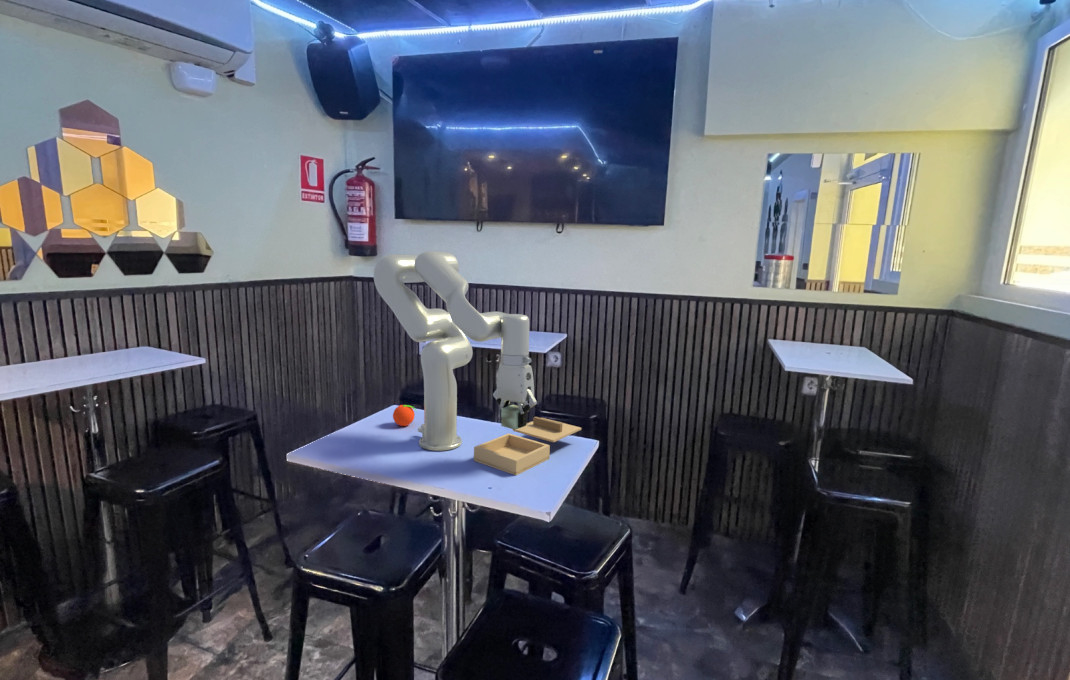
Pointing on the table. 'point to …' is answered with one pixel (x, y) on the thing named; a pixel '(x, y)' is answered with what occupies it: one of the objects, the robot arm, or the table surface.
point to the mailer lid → (547, 429)
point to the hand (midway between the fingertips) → (514, 423)
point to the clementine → (403, 415)
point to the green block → (510, 416)
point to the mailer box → (511, 453)
